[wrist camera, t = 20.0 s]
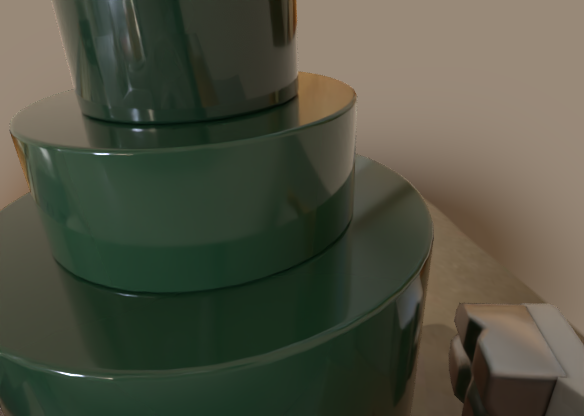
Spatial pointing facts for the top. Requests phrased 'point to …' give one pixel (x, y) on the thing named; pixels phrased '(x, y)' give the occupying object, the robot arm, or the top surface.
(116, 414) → the bottle
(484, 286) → the top surface
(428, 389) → the top surface
